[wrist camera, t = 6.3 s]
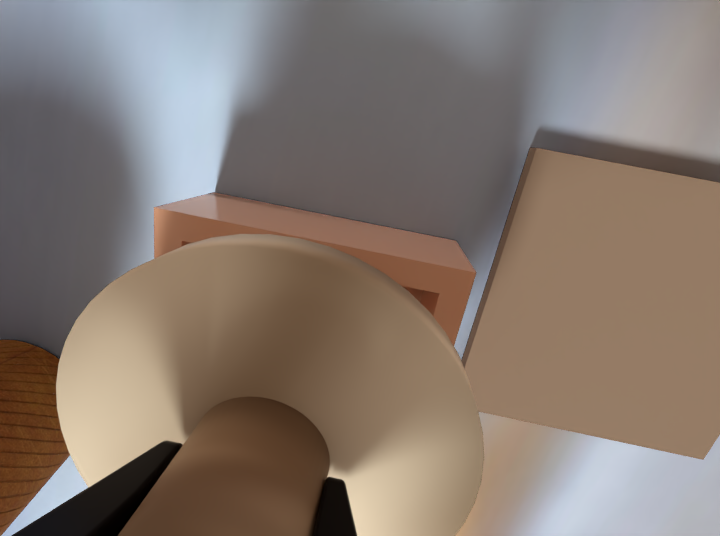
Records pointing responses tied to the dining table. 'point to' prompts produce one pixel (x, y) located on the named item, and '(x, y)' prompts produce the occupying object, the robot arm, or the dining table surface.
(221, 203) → the dish
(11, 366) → the disposable coffee cup
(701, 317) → the mat
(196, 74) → the dining table surface
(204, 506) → the lid
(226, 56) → the dining table surface
